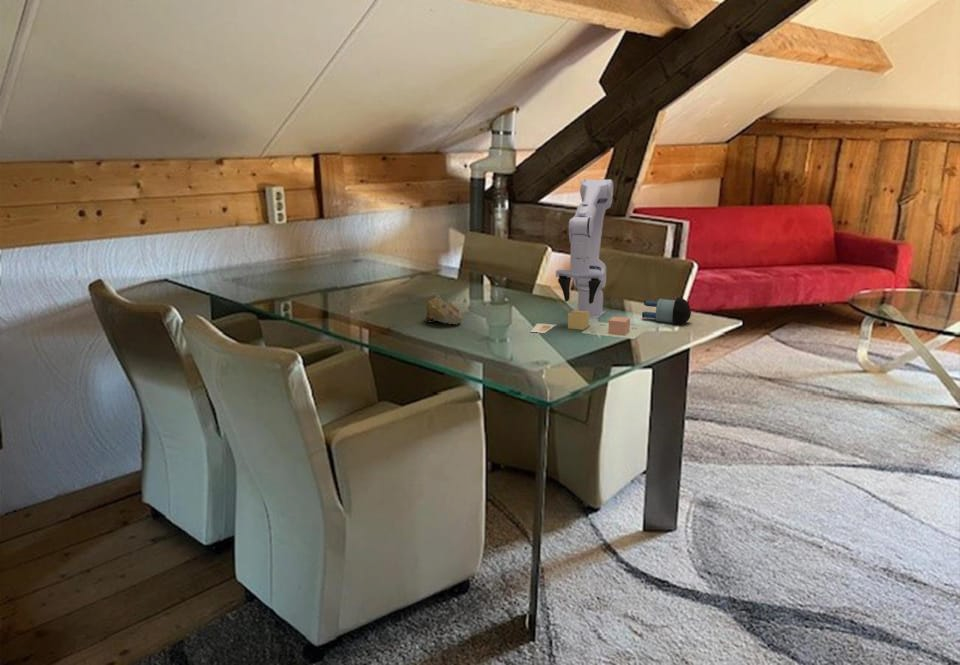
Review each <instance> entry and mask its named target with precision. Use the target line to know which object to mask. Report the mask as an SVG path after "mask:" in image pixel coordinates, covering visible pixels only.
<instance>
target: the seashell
mask: <svg viewBox="0 0 960 665" xmlns="http://www.w3.org/2000/svg"><path fill="white" fill-rule="evenodd" d="M434 296H435V297H434V298H432V299H431V300H426V302H427V305H426V306H425V309H426V317H425V323H426V322H429V321H434V322H439V323H443V324H447V323H448V324H447V325H451V324H456V325H457V324H458V323H460V324H461V322H462V320H463V314H462V313H461V311H460V309H459V308H458V307H457V306H456V305H455V304H453V302H451V301H448V302H446V301H445V300H443V299H442V296H441V295H439V294H438V293H437V294H434ZM458 325H459V324H458Z"/></svg>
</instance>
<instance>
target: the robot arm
mask: <svg viewBox="0 0 960 665" xmlns="http://www.w3.org/2000/svg"><path fill="white" fill-rule="evenodd" d="M579 188H580V189H579V192H580V193H579V194H580V197H581V198H580V199H581V203H579V205H578V206H577V208H576V211H575V214H574V216H573V217H572V218H570V219H569V221H568V235H569V236H568V237H569V243H570V259H569V260H570V263H569V264H570V266H569V269H556V270H555V278H558V279H557V282H558V284H559V286H560V288H561V290H562V294H563V297H564V302H568V301H570V297H571V296H570V290H571V289H570V287H571V280H572V279H573V281H572V282H573V285H574V287H575V288H576V289H577V294H578V295H577V296H578V297H577V310H578V311H588V312H589V319H594V320H595V319H598V318H600V317H601V316H603V315H604V314H606V311H604V309H603V308H604V292H603V290H602V289H604V288H605V287H606V283H607V266H606V263H604V262H603V261H602V260H601V259H600V251H601V243H602V233H603V227H604V217H605V214H606V210H608V209H610V208H611V206H612V203H613V196H614V182H613V180H612V179H586V178H583V179H582V180H581V182H580V187H579Z"/></svg>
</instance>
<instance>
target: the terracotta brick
mask: <svg viewBox="0 0 960 665" xmlns="http://www.w3.org/2000/svg"><path fill="white" fill-rule="evenodd" d="M608 323H609V329H608V333H609V334H617V335H626V334H627V333H628V332H629V331H630V325H631V317H622V316H621V317H620V316H613V317H611V318H610V319H609V320H608Z"/></svg>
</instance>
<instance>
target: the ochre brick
mask: <svg viewBox="0 0 960 665" xmlns="http://www.w3.org/2000/svg"><path fill="white" fill-rule="evenodd" d="M588 327H590V318H589V312H588V311H578V309H577V310H576V309H574V310H572V311H570V312H569V313H568V314H567V329H571V330H581V331H582V330H583V331H584V330H586V329H587V328H588Z"/></svg>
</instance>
